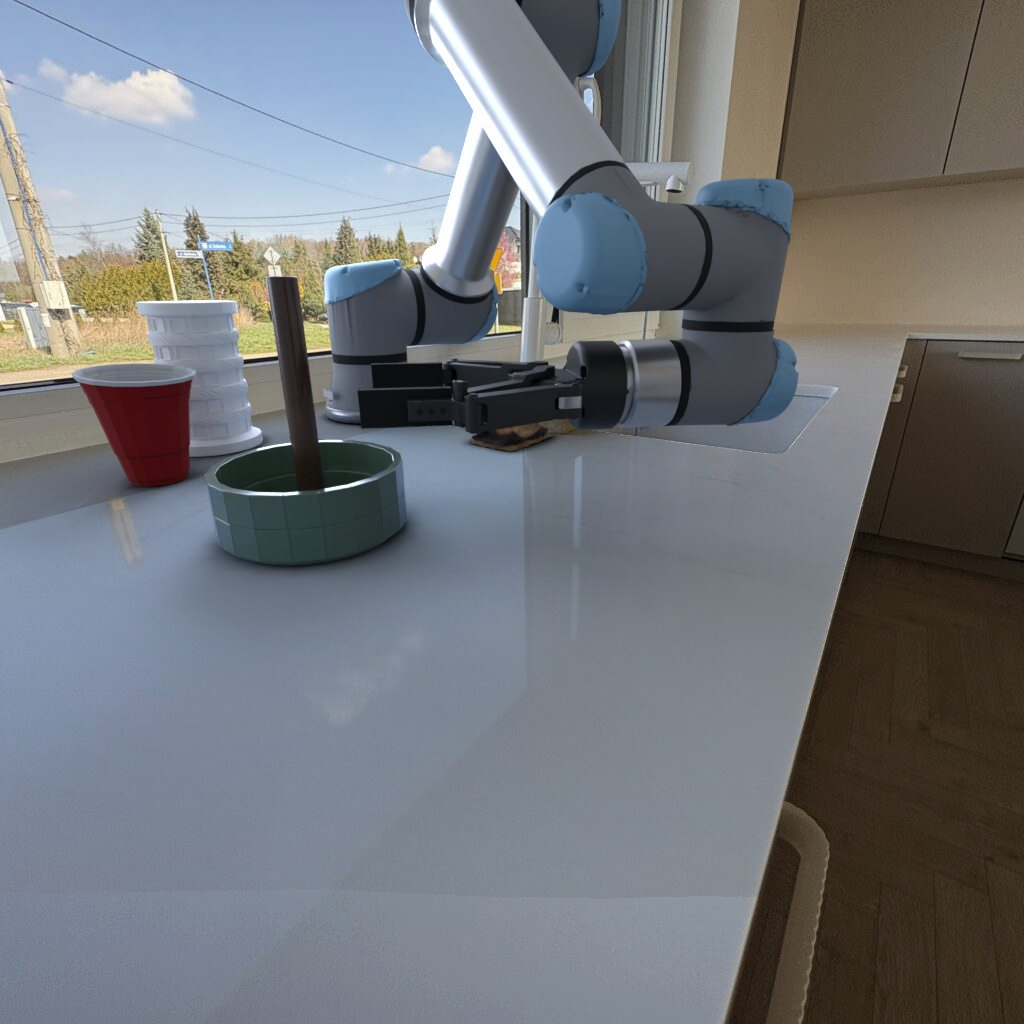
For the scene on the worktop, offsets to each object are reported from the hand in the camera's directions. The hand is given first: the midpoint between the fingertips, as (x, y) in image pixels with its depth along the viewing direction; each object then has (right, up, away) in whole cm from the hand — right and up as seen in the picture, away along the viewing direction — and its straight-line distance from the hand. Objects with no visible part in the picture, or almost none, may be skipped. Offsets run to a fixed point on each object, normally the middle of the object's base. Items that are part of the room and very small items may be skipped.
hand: (366, 391), depth 46 cm
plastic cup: (-27, -6, +16) cm, 32 cm away
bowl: (-5, -11, +4) cm, 13 cm away
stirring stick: (-5, -11, +4) cm, 13 cm away
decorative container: (-28, -1, +30) cm, 41 cm away
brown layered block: (+12, 0, +32) cm, 35 cm away
